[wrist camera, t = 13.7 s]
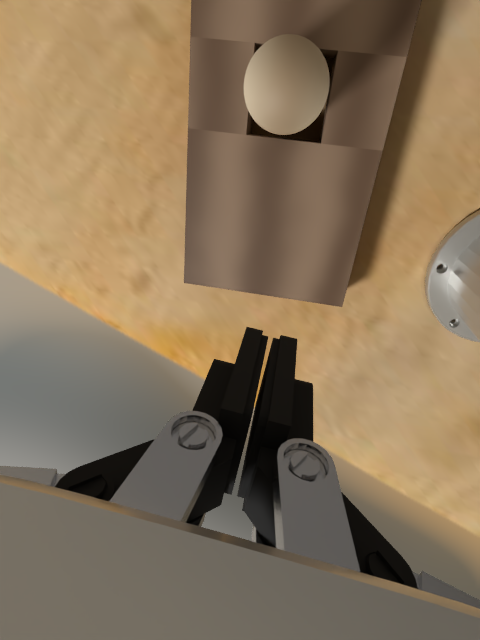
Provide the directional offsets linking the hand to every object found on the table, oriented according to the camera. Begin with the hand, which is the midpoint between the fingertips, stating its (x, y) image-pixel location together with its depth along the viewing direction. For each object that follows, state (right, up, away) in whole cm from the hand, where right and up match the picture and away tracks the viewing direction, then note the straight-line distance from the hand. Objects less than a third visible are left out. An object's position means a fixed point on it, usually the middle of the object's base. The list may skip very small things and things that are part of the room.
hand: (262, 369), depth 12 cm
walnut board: (+3, +15, +17) cm, 23 cm away
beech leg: (+3, +18, +16) cm, 24 cm away
